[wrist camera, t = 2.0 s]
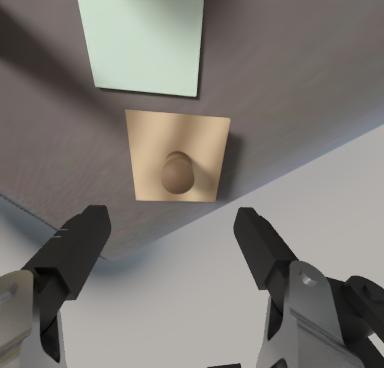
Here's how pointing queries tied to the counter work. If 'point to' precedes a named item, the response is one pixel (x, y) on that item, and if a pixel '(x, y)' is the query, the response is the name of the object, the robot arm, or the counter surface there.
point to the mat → (144, 44)
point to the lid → (176, 155)
